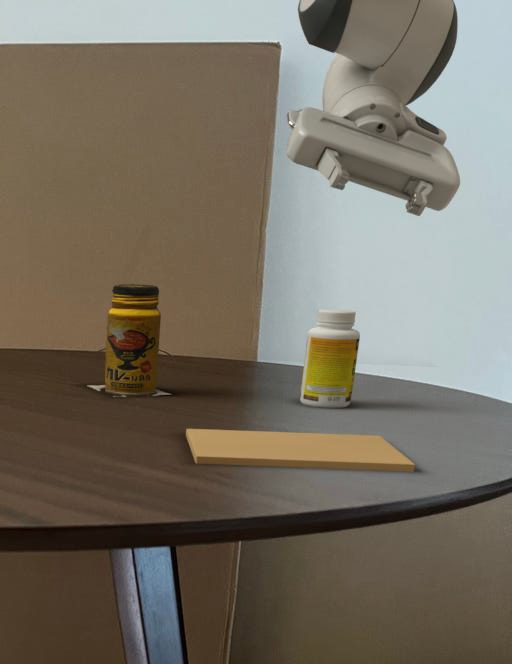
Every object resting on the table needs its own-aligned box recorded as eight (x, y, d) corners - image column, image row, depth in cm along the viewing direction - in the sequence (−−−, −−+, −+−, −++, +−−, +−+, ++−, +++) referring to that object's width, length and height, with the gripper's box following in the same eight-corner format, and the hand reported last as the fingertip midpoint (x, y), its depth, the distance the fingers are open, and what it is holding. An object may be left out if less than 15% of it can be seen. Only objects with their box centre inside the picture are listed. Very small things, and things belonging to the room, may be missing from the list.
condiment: (114, 398, 117) (120, 287, 112) (85, 387, 124) (90, 282, 119) (171, 396, 119) (180, 287, 114) (140, 385, 126) (147, 282, 122)
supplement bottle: (356, 410, 113) (370, 313, 109) (306, 409, 113) (318, 312, 109) (342, 401, 118) (354, 308, 114) (294, 400, 118) (305, 307, 114)
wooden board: (378, 444, 96) (380, 435, 96) (413, 473, 85) (415, 464, 85) (185, 436, 97) (186, 428, 97) (195, 465, 86) (196, 455, 86)
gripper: (298, 80, 118) (306, 139, 110) (458, 136, 121) (477, 197, 113) (274, 132, 123) (279, 193, 114) (427, 184, 126) (444, 247, 118)
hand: (379, 196), depth 114 cm, fingers open, 8 cm apart
